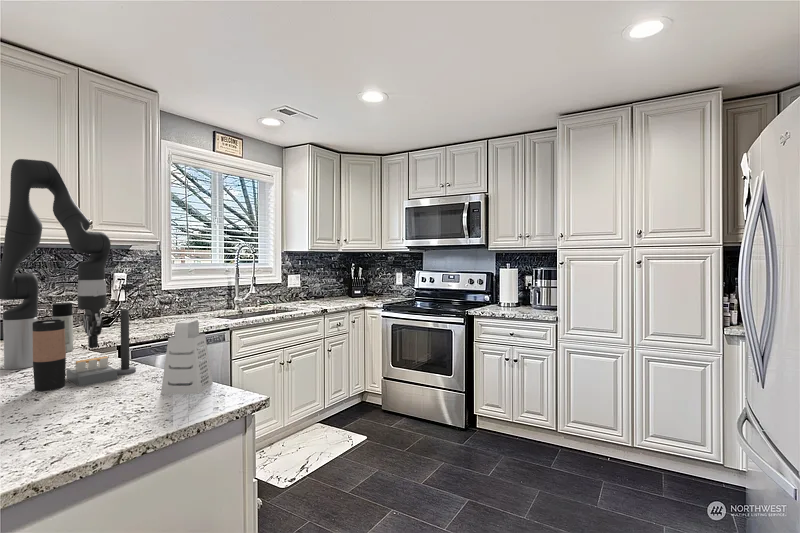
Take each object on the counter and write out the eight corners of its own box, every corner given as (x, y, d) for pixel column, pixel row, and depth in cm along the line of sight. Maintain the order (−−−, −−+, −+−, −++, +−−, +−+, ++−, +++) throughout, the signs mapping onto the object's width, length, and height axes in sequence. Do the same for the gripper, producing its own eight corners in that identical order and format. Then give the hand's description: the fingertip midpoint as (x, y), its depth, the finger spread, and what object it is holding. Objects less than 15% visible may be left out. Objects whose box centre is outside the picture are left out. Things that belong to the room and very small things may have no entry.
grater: (212, 382, 133) (212, 318, 133) (198, 393, 123) (197, 324, 122) (178, 383, 133) (177, 319, 133) (160, 394, 123) (159, 324, 122)
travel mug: (27, 392, 124) (26, 323, 123) (41, 385, 131) (40, 319, 131) (58, 390, 126) (57, 322, 125) (71, 383, 133) (69, 318, 133)
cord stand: (111, 372, 145) (111, 310, 144) (131, 369, 149) (131, 308, 149) (118, 375, 141) (117, 311, 141) (138, 372, 146) (138, 309, 145)
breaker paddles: (75, 370, 135) (75, 360, 134) (106, 365, 141) (106, 356, 141) (76, 372, 134) (77, 362, 133) (107, 366, 141) (108, 357, 140)
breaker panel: (66, 378, 138) (66, 368, 138) (102, 371, 146) (102, 362, 146) (79, 386, 130) (79, 376, 130) (117, 379, 137) (117, 369, 137)
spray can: (77, 349, 180) (76, 302, 180) (63, 353, 174) (62, 304, 173) (63, 349, 181) (62, 302, 180) (48, 353, 174) (47, 304, 174)
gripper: (71, 293, 139) (72, 346, 139) (84, 295, 131) (85, 352, 131) (99, 292, 145) (100, 343, 145) (112, 294, 136) (113, 348, 137)
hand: (93, 347), depth 138 cm, fingers closed
